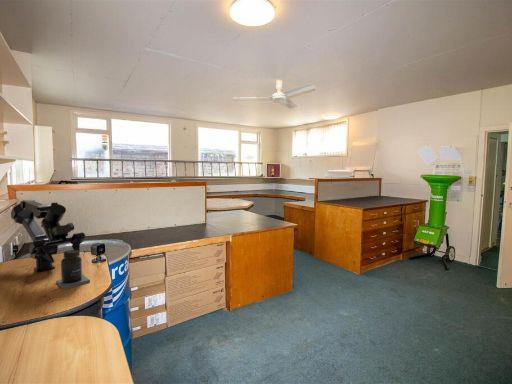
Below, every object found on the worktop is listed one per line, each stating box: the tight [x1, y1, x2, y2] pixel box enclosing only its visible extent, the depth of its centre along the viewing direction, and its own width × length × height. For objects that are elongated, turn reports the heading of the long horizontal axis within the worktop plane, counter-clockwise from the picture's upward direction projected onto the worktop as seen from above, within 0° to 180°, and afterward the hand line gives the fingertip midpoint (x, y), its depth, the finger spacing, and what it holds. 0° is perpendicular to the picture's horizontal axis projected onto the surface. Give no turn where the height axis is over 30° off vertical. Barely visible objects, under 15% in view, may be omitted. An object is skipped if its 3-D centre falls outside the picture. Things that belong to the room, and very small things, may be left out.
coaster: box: [55, 273, 91, 290], centre depth 105 cm, size 9×9×1 cm
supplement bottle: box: [60, 249, 83, 283], centre depth 104 cm, size 7×7×12 cm
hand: (66, 259), depth 106 cm, fingers open, 9 cm apart
